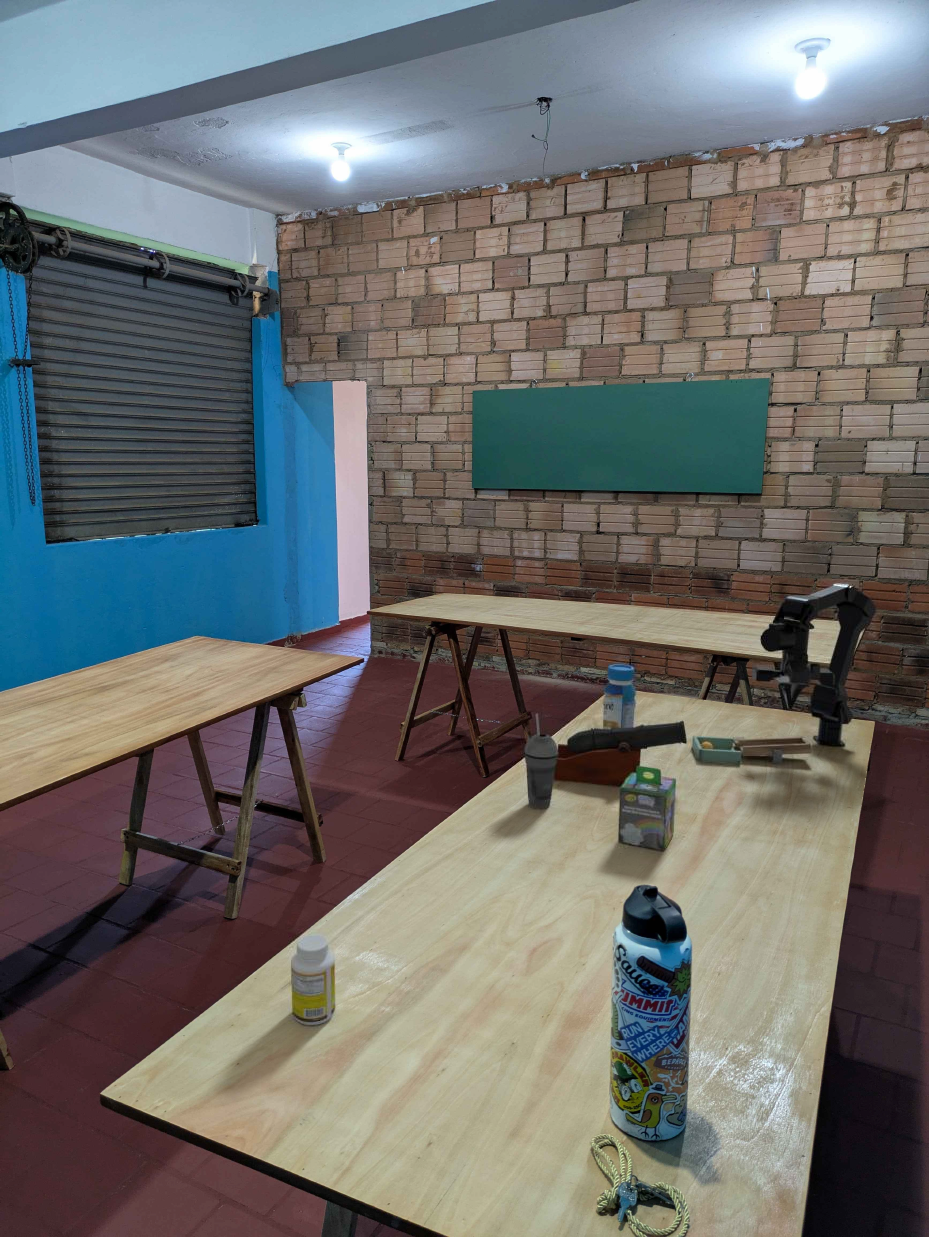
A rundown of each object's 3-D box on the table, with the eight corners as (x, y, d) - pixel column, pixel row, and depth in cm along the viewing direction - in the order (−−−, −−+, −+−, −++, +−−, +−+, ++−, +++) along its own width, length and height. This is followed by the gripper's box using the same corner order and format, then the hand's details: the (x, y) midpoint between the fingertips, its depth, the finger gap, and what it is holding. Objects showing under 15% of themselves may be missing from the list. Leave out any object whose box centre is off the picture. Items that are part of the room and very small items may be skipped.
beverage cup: (554, 813, 176) (558, 720, 172) (519, 810, 177) (522, 717, 173) (558, 800, 183) (561, 710, 179) (524, 796, 184) (527, 708, 180)
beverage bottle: (636, 746, 218) (640, 671, 215) (603, 746, 218) (607, 670, 215) (630, 736, 227) (634, 663, 223) (598, 735, 227) (602, 662, 223)
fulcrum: (765, 752, 216) (766, 739, 215) (773, 753, 215) (774, 740, 215) (772, 763, 208) (774, 750, 207) (781, 764, 207) (782, 750, 207)
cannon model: (684, 795, 187) (689, 730, 184) (551, 782, 193) (553, 718, 191) (683, 775, 199) (687, 713, 196) (557, 763, 205) (560, 703, 203)
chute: (732, 740, 221) (731, 732, 221) (797, 738, 219) (797, 729, 218) (741, 756, 209) (741, 747, 209) (810, 753, 207) (810, 744, 207)
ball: (714, 744, 214) (706, 753, 215) (704, 737, 214) (697, 746, 215) (716, 748, 211) (708, 757, 212) (706, 741, 211) (698, 750, 212)
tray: (692, 747, 219) (692, 735, 218) (731, 749, 218) (732, 738, 217) (698, 761, 208) (699, 749, 208) (740, 763, 207) (741, 752, 207)
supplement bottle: (316, 995, 114) (315, 925, 113) (344, 1012, 111) (343, 941, 109) (283, 1014, 110) (281, 943, 108) (310, 1033, 107) (309, 959, 105)
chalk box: (674, 833, 167) (678, 762, 164) (664, 852, 159) (669, 777, 156) (627, 824, 171) (631, 754, 168) (615, 842, 162) (619, 769, 160)
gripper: (763, 653, 203) (758, 715, 206) (845, 656, 201) (838, 719, 204) (753, 643, 214) (748, 703, 217) (830, 646, 212) (824, 706, 215)
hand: (789, 708), depth 213 cm, fingers closed
